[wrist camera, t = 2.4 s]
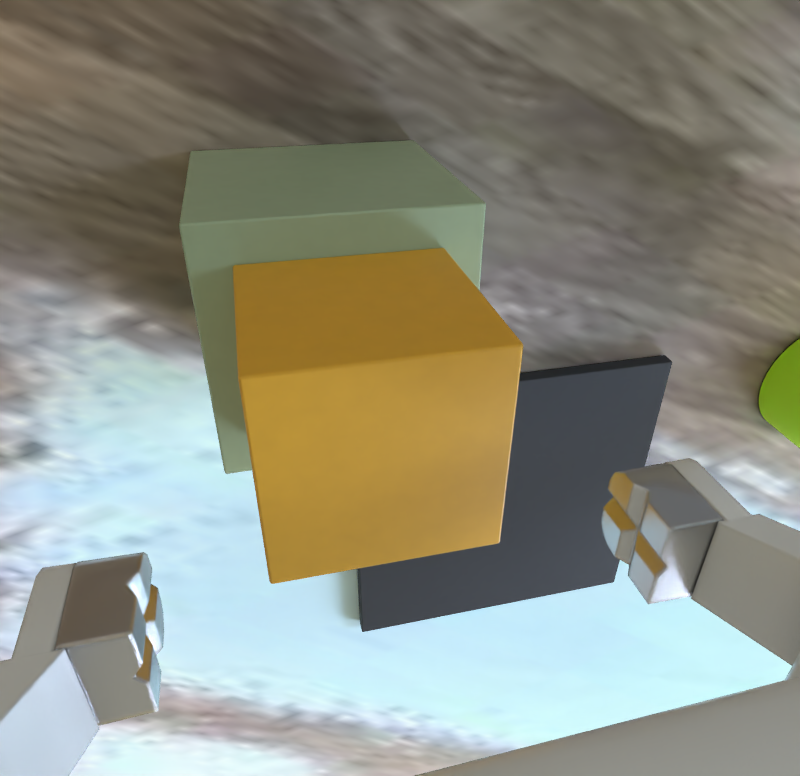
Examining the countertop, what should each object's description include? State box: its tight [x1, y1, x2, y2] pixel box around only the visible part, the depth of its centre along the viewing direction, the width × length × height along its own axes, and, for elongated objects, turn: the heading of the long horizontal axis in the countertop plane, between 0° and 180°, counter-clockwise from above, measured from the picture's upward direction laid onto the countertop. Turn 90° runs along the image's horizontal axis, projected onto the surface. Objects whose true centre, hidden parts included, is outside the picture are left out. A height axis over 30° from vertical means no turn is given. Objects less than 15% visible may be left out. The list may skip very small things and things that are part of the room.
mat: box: [358, 355, 672, 632], centre depth 31 cm, size 14×14×1 cm
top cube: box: [233, 248, 523, 584], centre depth 14 cm, size 5×5×5 cm
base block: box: [179, 140, 486, 474], centre depth 19 cm, size 7×7×7 cm
